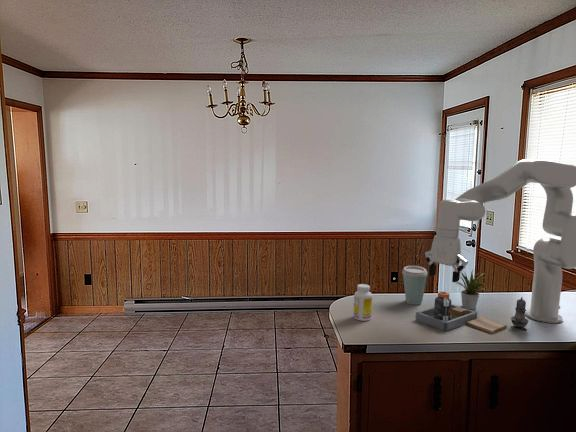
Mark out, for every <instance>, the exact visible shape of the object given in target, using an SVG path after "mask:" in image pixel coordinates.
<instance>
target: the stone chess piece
mask: <svg viewBox="0 0 576 432" xmlns="http://www.w3.org/2000/svg"><path fill="white" fill-rule="evenodd" d="M526 303H527V302H526V300H525V299H524V298H523V296H521V298H520V299H517V300H516V307H514V309H515V314H514V316H510V320H511V324H512V325H511V326H510V329H511V330H513V331H515V332H516V331H517V332H521V331H525V332H527V331H528V329H527V328H526V326H527V325H528V323H529V322H530V321H529V319H527V318H526V314H525V312H526V311H527V309H526V306H527V304H526Z"/></svg>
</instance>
